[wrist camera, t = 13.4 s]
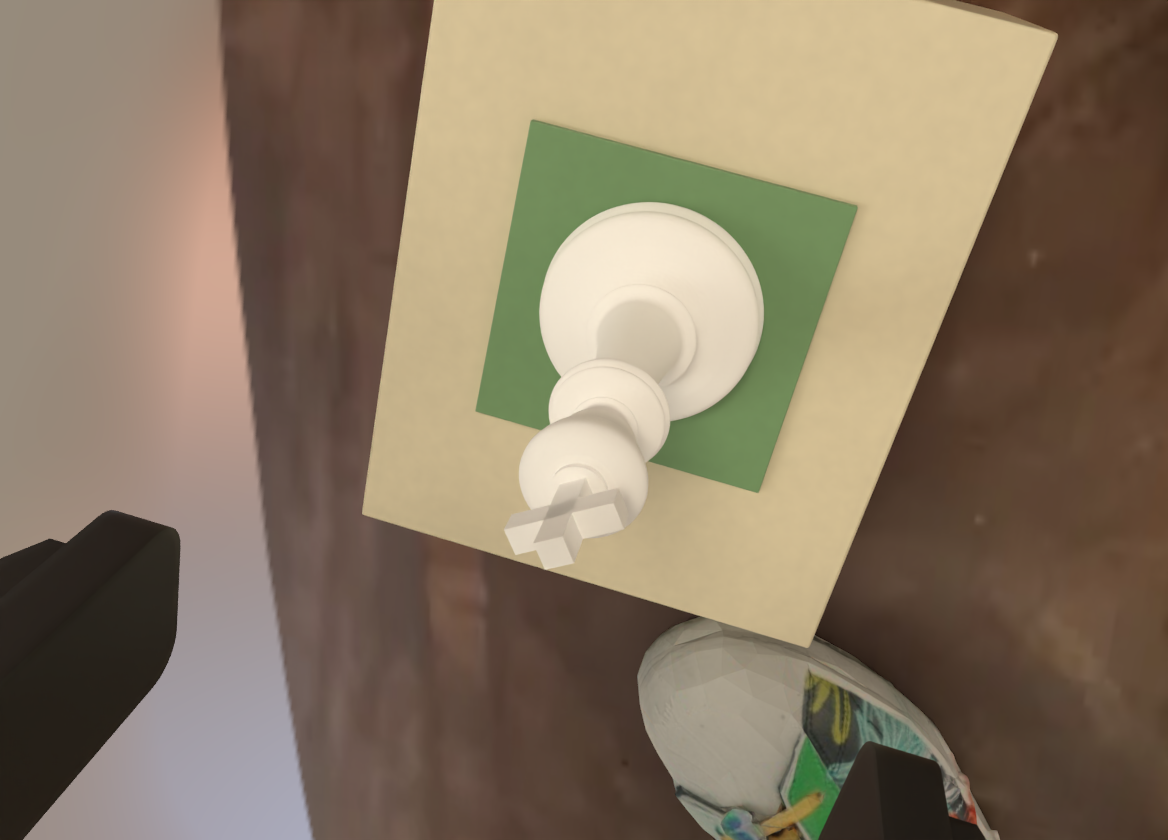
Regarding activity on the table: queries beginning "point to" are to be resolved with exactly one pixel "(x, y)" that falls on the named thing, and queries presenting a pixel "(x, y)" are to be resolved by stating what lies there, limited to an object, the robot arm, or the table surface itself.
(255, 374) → the table surface
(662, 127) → the box with green top
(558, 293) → the chess piece
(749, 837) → the sneaker
